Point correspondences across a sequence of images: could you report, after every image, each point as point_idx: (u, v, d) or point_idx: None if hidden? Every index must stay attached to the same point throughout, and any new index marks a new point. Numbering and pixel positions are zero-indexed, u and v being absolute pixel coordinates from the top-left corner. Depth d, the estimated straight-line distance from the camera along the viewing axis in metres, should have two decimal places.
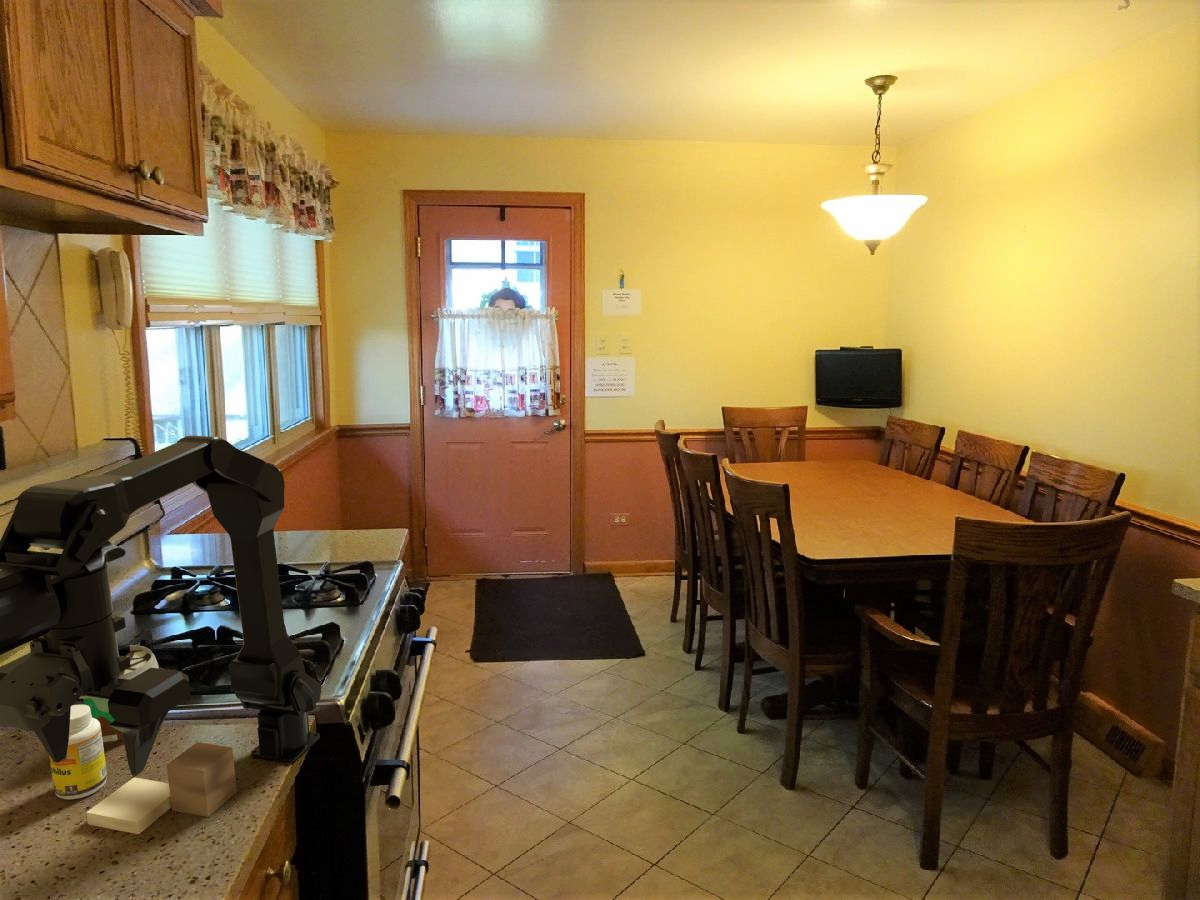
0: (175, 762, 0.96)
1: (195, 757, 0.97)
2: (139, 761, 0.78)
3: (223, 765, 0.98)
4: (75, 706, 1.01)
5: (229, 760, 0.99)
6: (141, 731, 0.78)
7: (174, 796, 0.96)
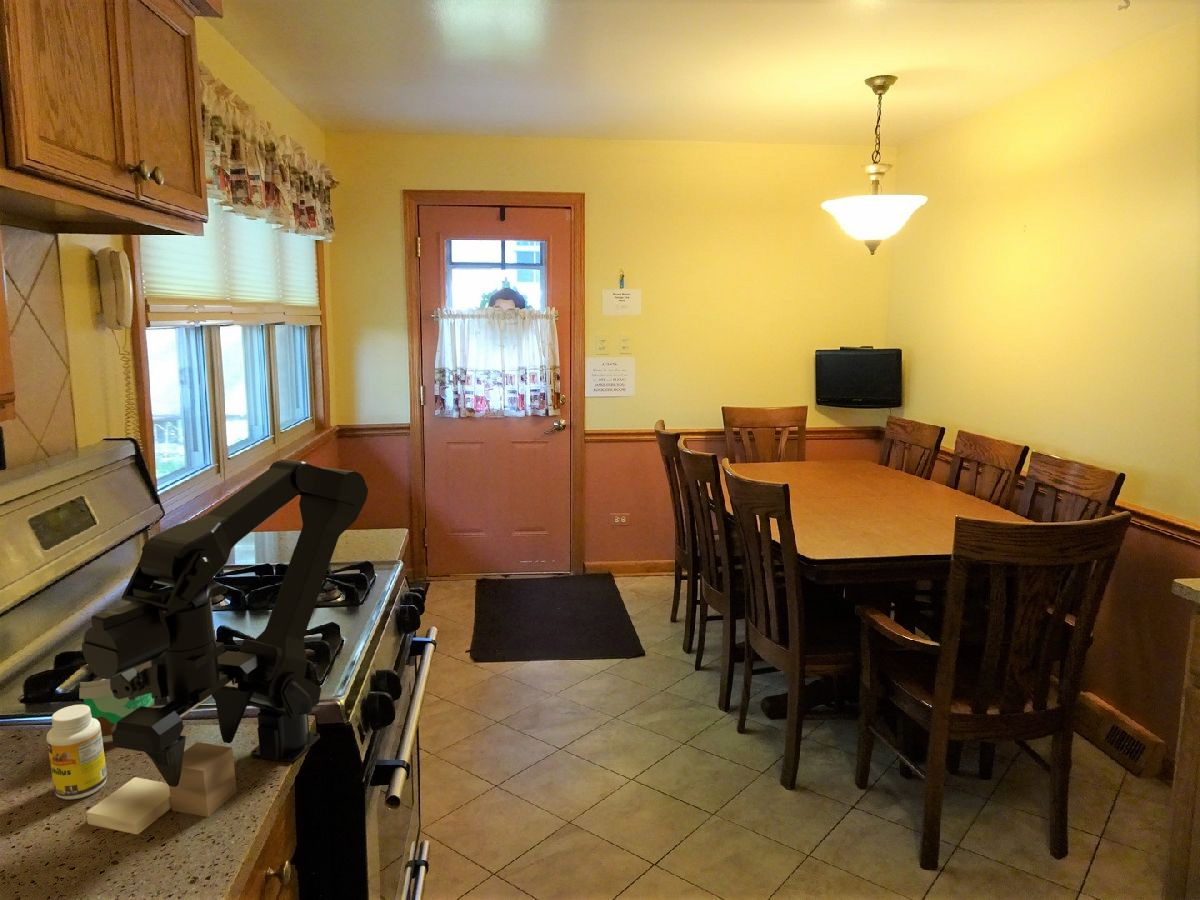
0: None
1: (195, 757, 0.97)
2: (166, 777, 0.93)
3: (223, 765, 0.98)
4: (75, 706, 1.01)
5: (229, 760, 0.99)
6: (160, 753, 0.92)
7: (174, 796, 0.96)
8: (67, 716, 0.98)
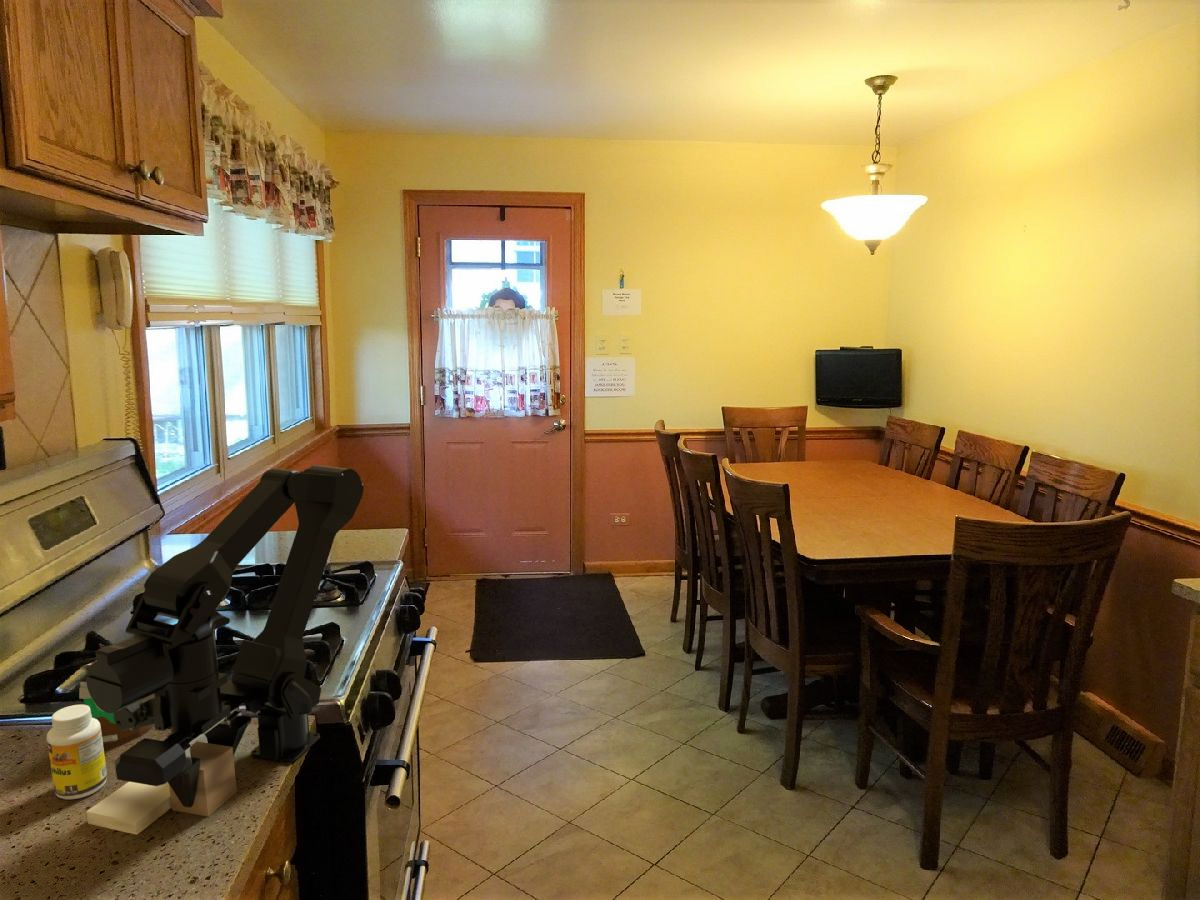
0: None
1: (195, 756, 0.97)
2: (181, 798, 0.95)
3: (223, 765, 0.98)
4: (75, 706, 1.01)
5: (229, 759, 0.99)
6: (175, 775, 0.94)
7: (174, 795, 0.96)
8: (67, 716, 0.98)
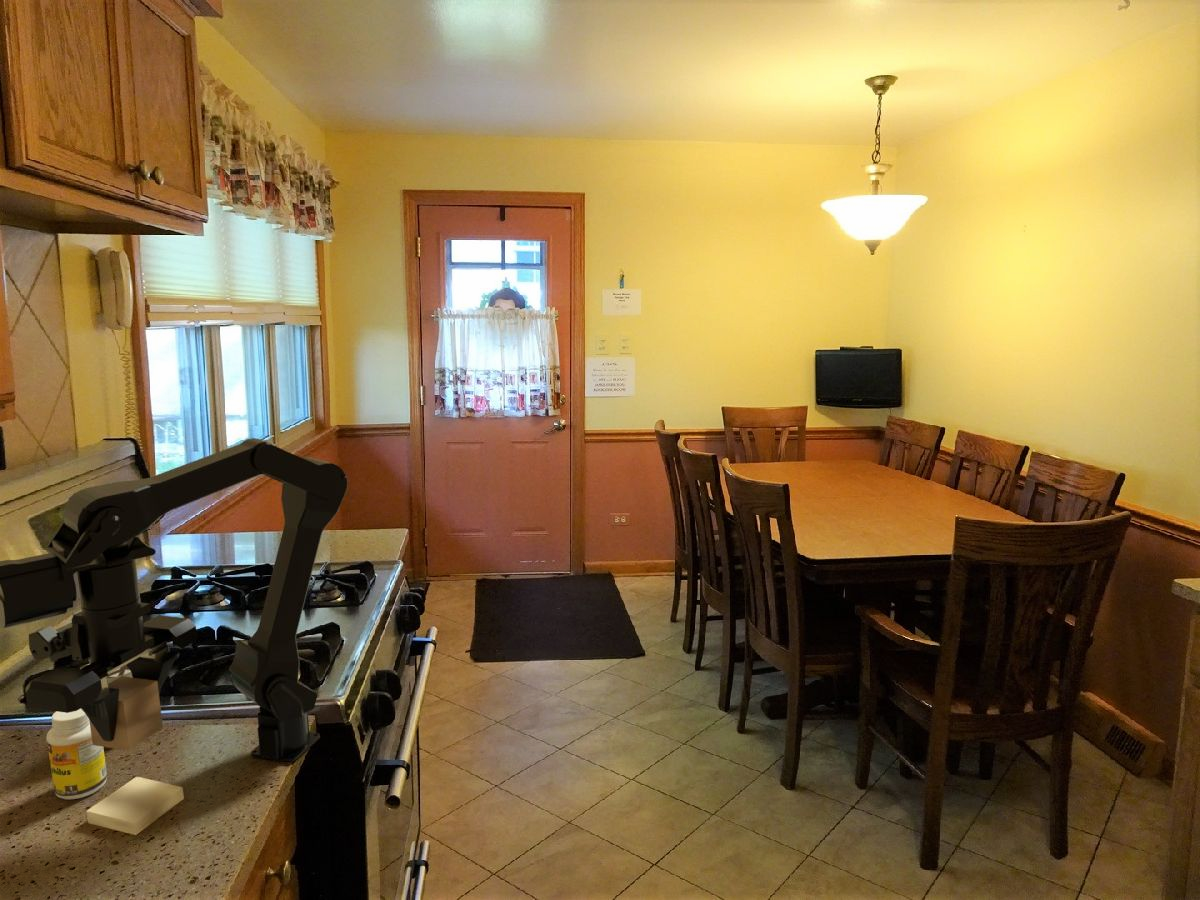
0: None
1: None
2: (100, 731, 0.92)
3: (147, 698, 0.94)
4: None
5: (154, 694, 0.95)
6: (93, 707, 0.90)
7: (95, 729, 0.93)
8: (67, 716, 0.98)
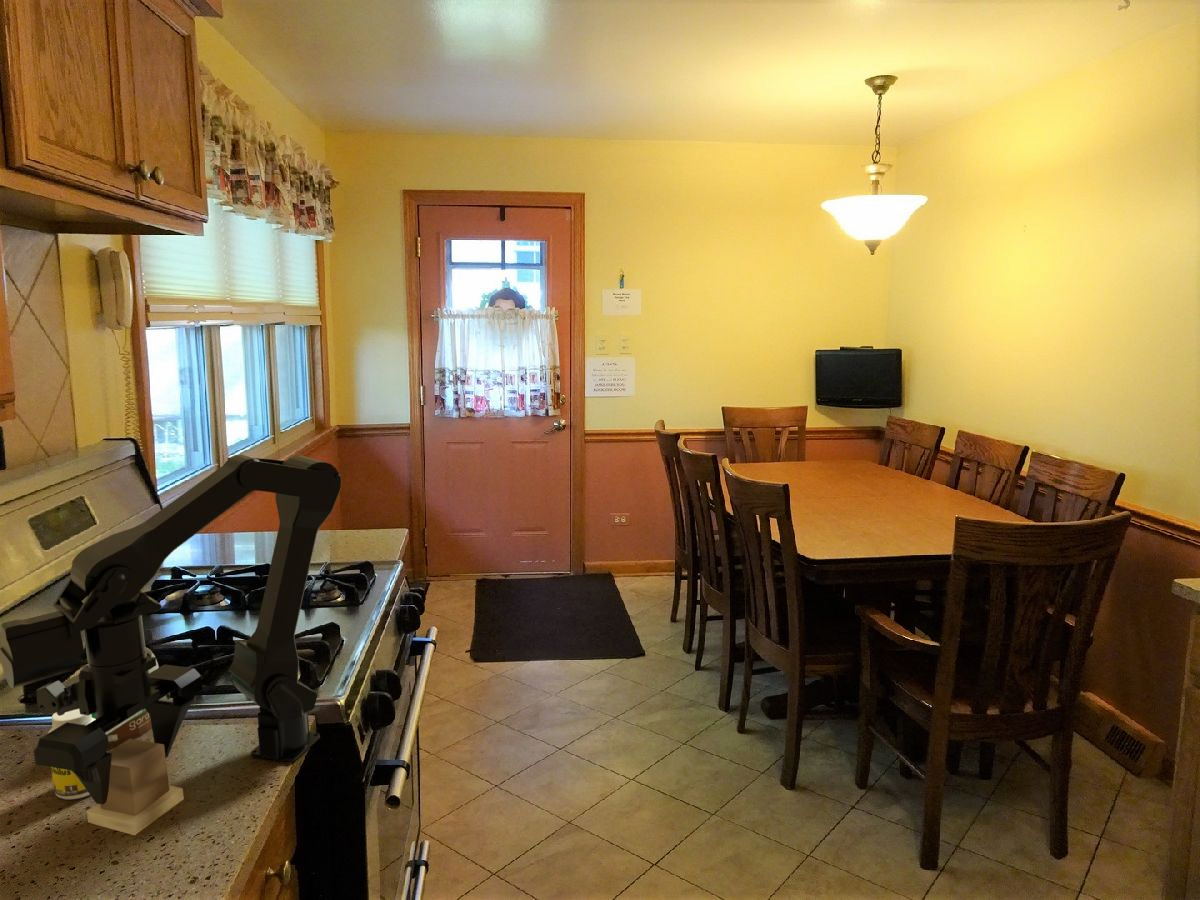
0: None
1: (124, 754, 0.95)
2: (93, 794, 0.91)
3: (154, 762, 0.96)
4: None
5: (160, 757, 0.97)
6: (86, 771, 0.90)
7: None
8: (67, 716, 0.98)
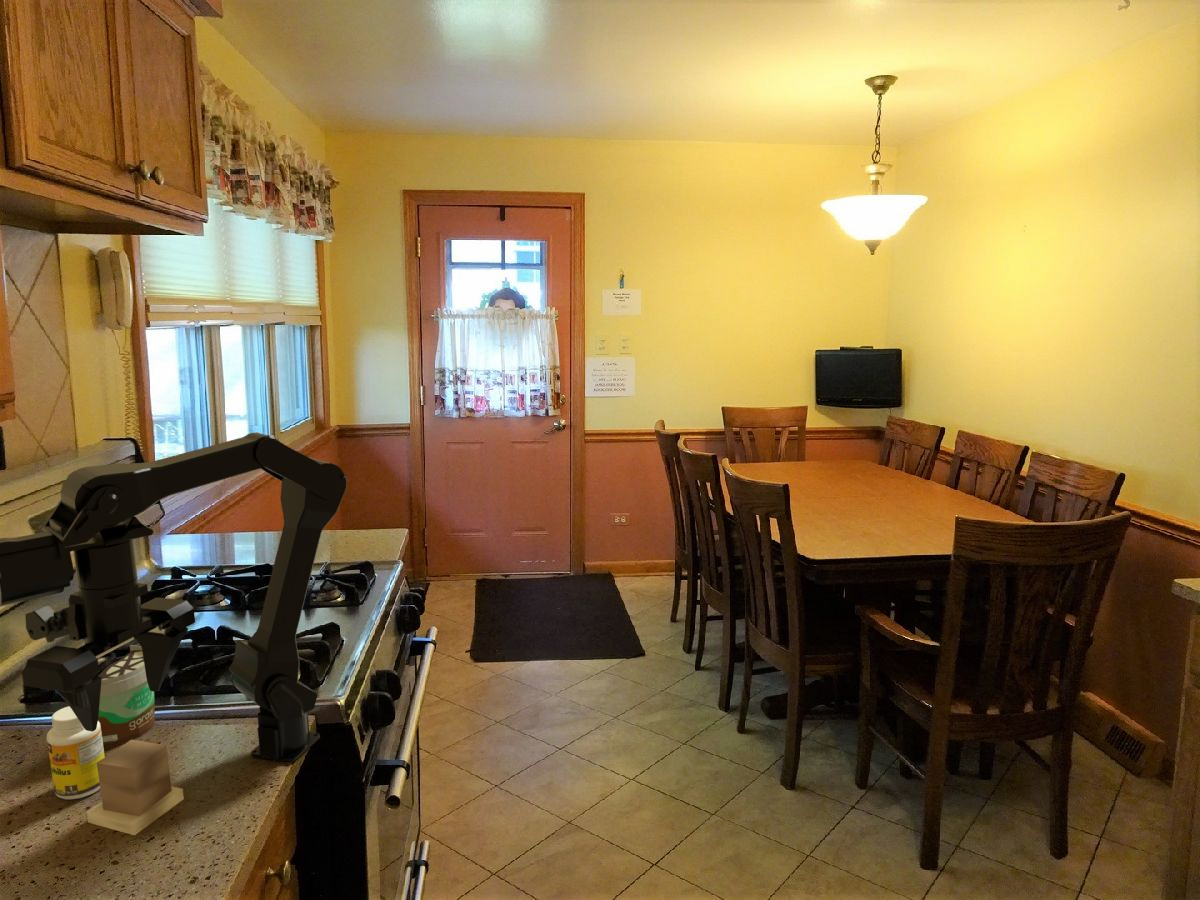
0: (106, 760, 0.94)
1: (126, 755, 0.95)
2: (83, 720, 0.89)
3: (156, 763, 0.96)
4: None
5: (163, 758, 0.97)
6: (75, 695, 0.88)
7: (105, 794, 0.94)
8: (67, 716, 0.98)
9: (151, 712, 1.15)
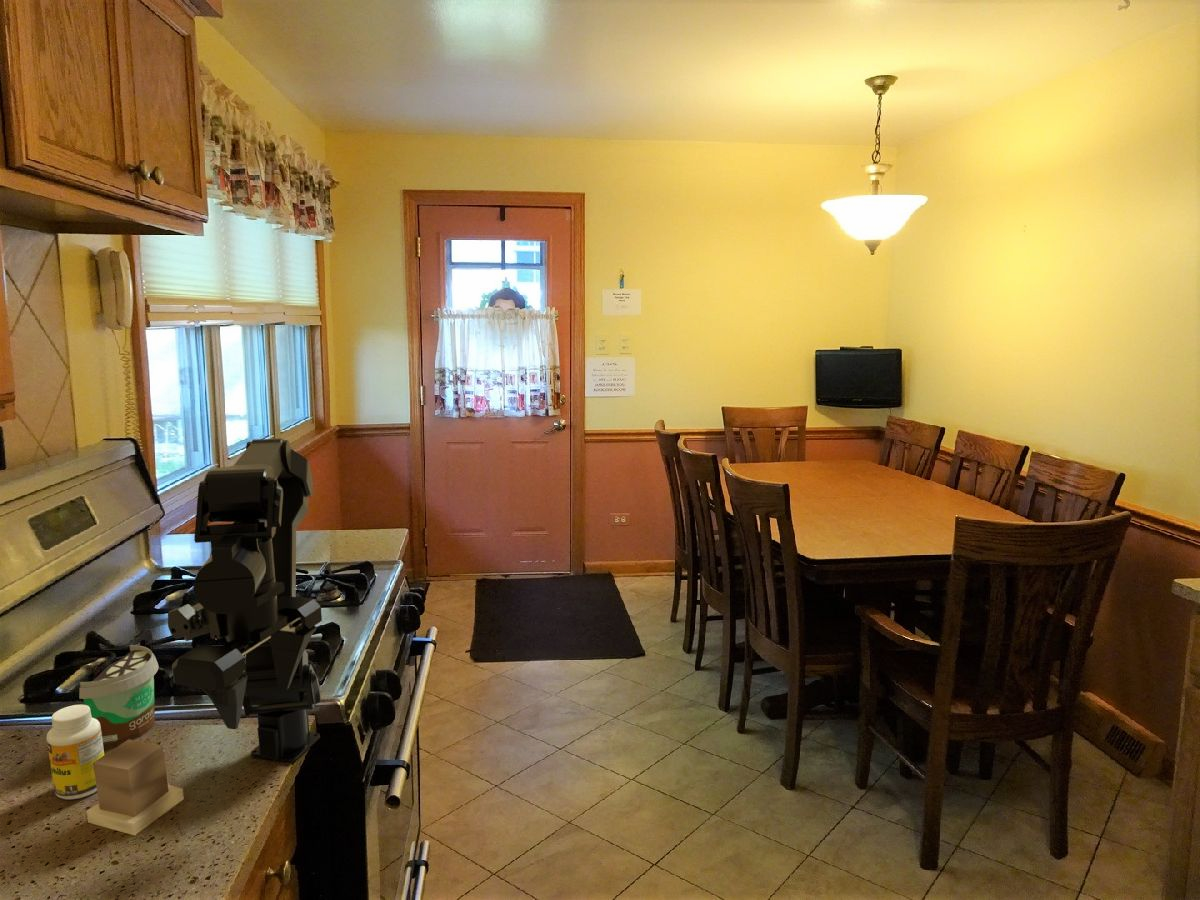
0: (102, 760, 0.94)
1: (122, 755, 0.95)
2: (226, 718, 0.89)
3: (152, 764, 0.96)
4: (75, 706, 1.01)
5: (159, 758, 0.97)
6: (220, 693, 0.88)
7: (102, 794, 0.94)
8: (67, 716, 0.98)
9: (151, 712, 1.15)
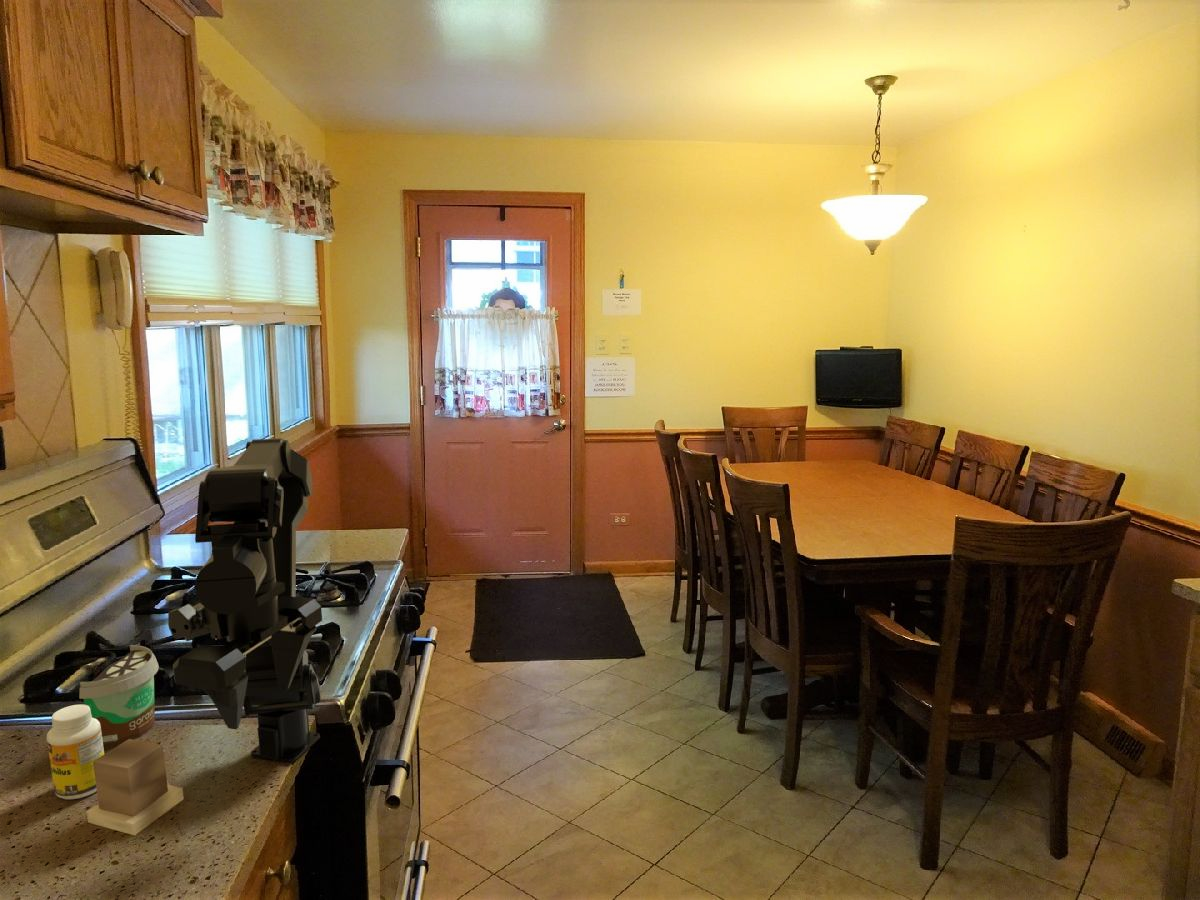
0: (102, 759, 0.94)
1: (122, 754, 0.95)
2: (226, 718, 0.89)
3: (152, 763, 0.96)
4: (75, 706, 1.01)
5: (159, 758, 0.97)
6: (221, 693, 0.88)
7: (101, 793, 0.94)
8: (67, 716, 0.98)
9: (151, 712, 1.15)
